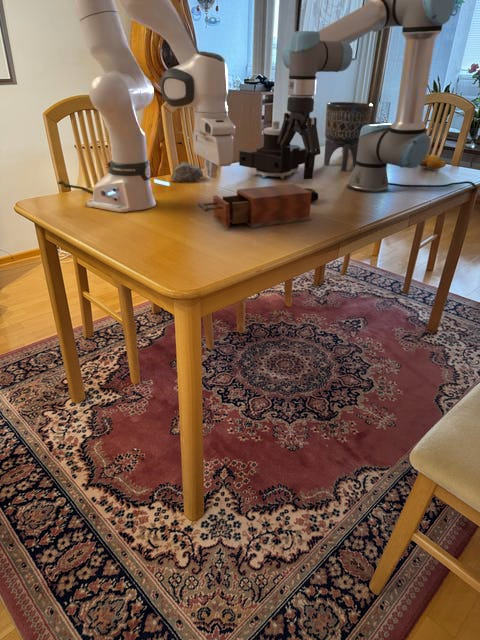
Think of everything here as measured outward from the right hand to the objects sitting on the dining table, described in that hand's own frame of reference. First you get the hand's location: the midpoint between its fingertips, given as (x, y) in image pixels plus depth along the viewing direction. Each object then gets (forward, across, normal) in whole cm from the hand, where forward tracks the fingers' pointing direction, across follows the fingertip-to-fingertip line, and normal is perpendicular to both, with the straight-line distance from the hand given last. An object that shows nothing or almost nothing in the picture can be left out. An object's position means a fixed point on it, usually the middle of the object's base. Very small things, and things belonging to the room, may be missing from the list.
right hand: (295, 174), depth 138 cm
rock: (+13, -56, -15) cm, 60 cm away
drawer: (+12, 0, -19) cm, 22 cm away
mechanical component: (+14, -54, +26) cm, 62 cm away
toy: (+14, -40, +98) cm, 107 cm away
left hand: (-2, 0, -28) cm, 28 cm away
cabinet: (+13, 0, -7) cm, 15 cm away
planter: (+14, -56, +60) cm, 83 cm away
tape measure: (+13, -12, +13) cm, 22 cm away
